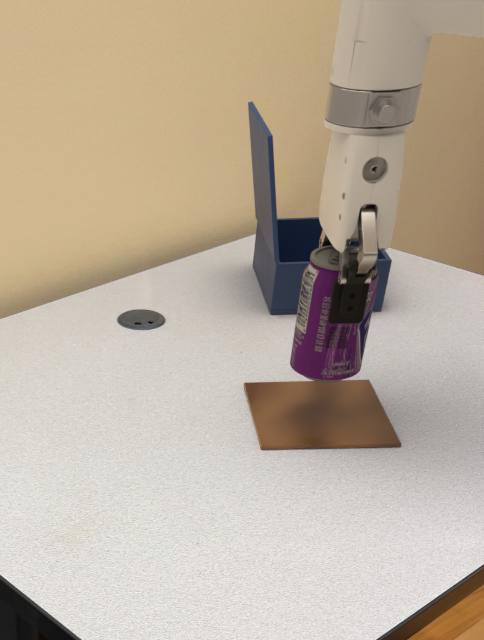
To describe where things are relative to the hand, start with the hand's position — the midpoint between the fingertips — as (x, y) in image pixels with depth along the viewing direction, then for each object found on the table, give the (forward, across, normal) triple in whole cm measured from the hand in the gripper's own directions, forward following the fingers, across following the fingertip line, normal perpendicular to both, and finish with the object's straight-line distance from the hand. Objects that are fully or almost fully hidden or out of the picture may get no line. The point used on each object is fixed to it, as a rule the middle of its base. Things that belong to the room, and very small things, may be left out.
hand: (336, 304), depth 88 cm
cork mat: (+12, 0, 0) cm, 12 cm away
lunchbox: (+12, +35, -6) cm, 38 cm away
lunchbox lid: (-2, +35, +2) cm, 35 cm away
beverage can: (+7, 0, 0) cm, 7 cm away
